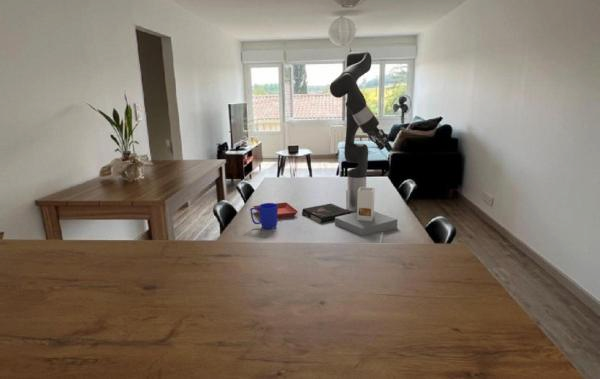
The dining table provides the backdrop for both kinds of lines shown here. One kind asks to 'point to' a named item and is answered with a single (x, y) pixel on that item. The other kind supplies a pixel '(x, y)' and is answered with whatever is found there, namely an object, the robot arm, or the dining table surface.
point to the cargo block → (365, 211)
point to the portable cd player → (324, 213)
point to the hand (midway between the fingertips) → (386, 149)
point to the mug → (267, 215)
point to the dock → (366, 223)
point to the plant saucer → (283, 210)
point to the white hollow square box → (365, 202)
